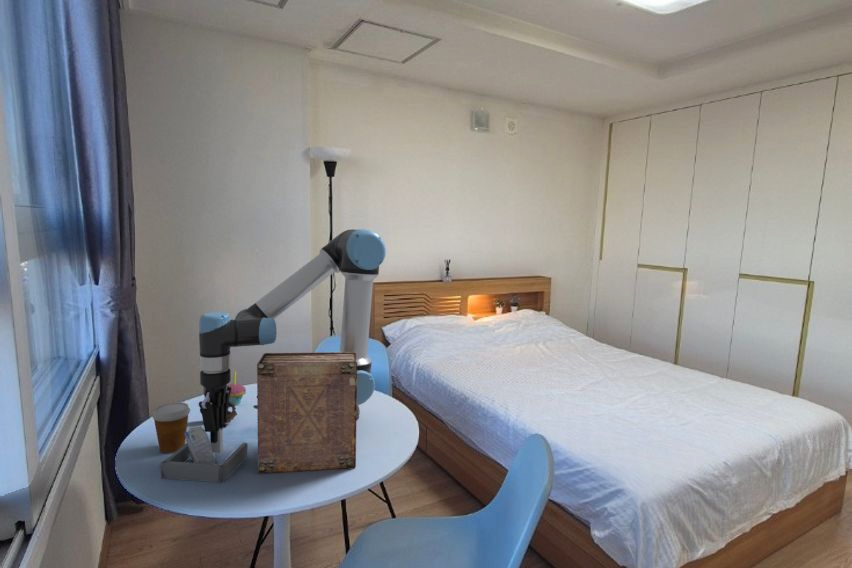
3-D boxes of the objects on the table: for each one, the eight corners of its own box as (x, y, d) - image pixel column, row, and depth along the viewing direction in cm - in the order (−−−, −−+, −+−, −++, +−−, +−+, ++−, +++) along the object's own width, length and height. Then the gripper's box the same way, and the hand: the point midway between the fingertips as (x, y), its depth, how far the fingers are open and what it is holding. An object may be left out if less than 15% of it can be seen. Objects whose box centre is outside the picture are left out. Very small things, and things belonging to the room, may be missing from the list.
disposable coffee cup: (150, 458, 120) (148, 416, 119) (155, 443, 129) (154, 403, 128) (189, 452, 124) (188, 412, 123) (192, 438, 133) (191, 400, 132)
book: (354, 451, 128) (357, 351, 125) (355, 468, 119) (358, 361, 116) (263, 456, 124) (263, 352, 120) (257, 474, 115) (257, 362, 111)
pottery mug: (240, 417, 150) (242, 401, 146) (228, 440, 142) (229, 424, 138) (205, 408, 149) (205, 392, 145) (190, 431, 141) (191, 414, 137)
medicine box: (216, 463, 117) (208, 435, 115) (198, 472, 115) (190, 443, 113) (208, 452, 123) (201, 424, 121) (191, 459, 121) (183, 432, 119)
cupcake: (225, 399, 164) (225, 368, 163) (249, 399, 165) (248, 368, 164) (217, 408, 156) (216, 375, 154) (242, 408, 157) (241, 375, 155)
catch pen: (247, 456, 124) (247, 442, 123) (223, 482, 110) (223, 467, 110) (191, 452, 124) (191, 439, 124) (161, 478, 111) (160, 463, 111)
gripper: (214, 361, 126) (215, 439, 129) (187, 376, 113) (189, 462, 116) (240, 363, 126) (240, 441, 129) (216, 377, 113) (217, 464, 116)
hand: (216, 451), depth 122 cm, fingers closed
